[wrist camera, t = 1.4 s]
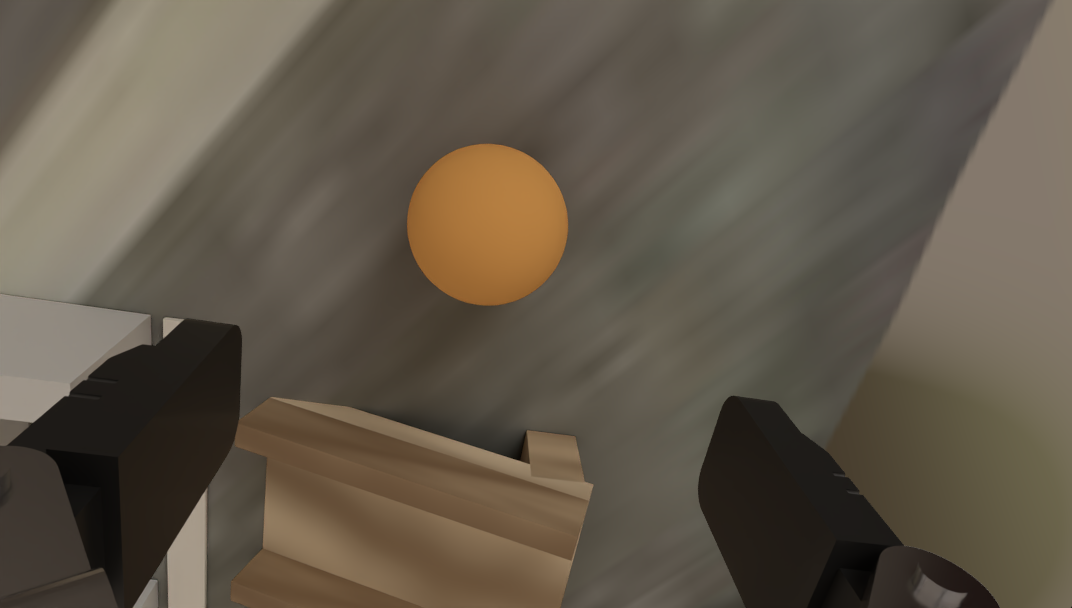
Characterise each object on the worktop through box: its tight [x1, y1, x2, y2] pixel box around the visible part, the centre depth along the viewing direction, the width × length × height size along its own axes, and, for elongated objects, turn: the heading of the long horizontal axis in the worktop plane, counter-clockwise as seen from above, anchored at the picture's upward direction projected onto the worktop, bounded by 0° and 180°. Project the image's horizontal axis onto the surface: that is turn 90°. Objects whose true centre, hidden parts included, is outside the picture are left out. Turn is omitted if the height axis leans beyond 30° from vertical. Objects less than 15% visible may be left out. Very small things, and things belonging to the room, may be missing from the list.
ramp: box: [231, 397, 593, 608], centre depth 25 cm, size 8×13×7 cm, turn 79°
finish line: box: [163, 317, 208, 608], centre depth 27 cm, size 14×2×1 cm, turn 169°
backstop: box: [0, 294, 158, 608], centre depth 24 cm, size 14×6×5 cm, turn 169°
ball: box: [407, 144, 568, 306], centre depth 21 cm, size 5×5×5 cm
